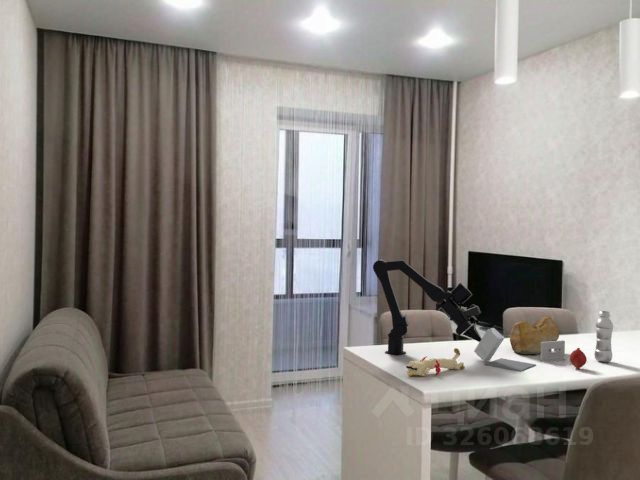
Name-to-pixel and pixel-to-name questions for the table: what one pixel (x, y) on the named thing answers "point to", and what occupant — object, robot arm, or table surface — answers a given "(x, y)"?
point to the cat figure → (434, 365)
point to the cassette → (552, 355)
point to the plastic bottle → (603, 337)
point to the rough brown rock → (533, 335)
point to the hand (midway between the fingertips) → (481, 341)
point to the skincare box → (489, 344)
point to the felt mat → (510, 364)
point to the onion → (577, 358)
